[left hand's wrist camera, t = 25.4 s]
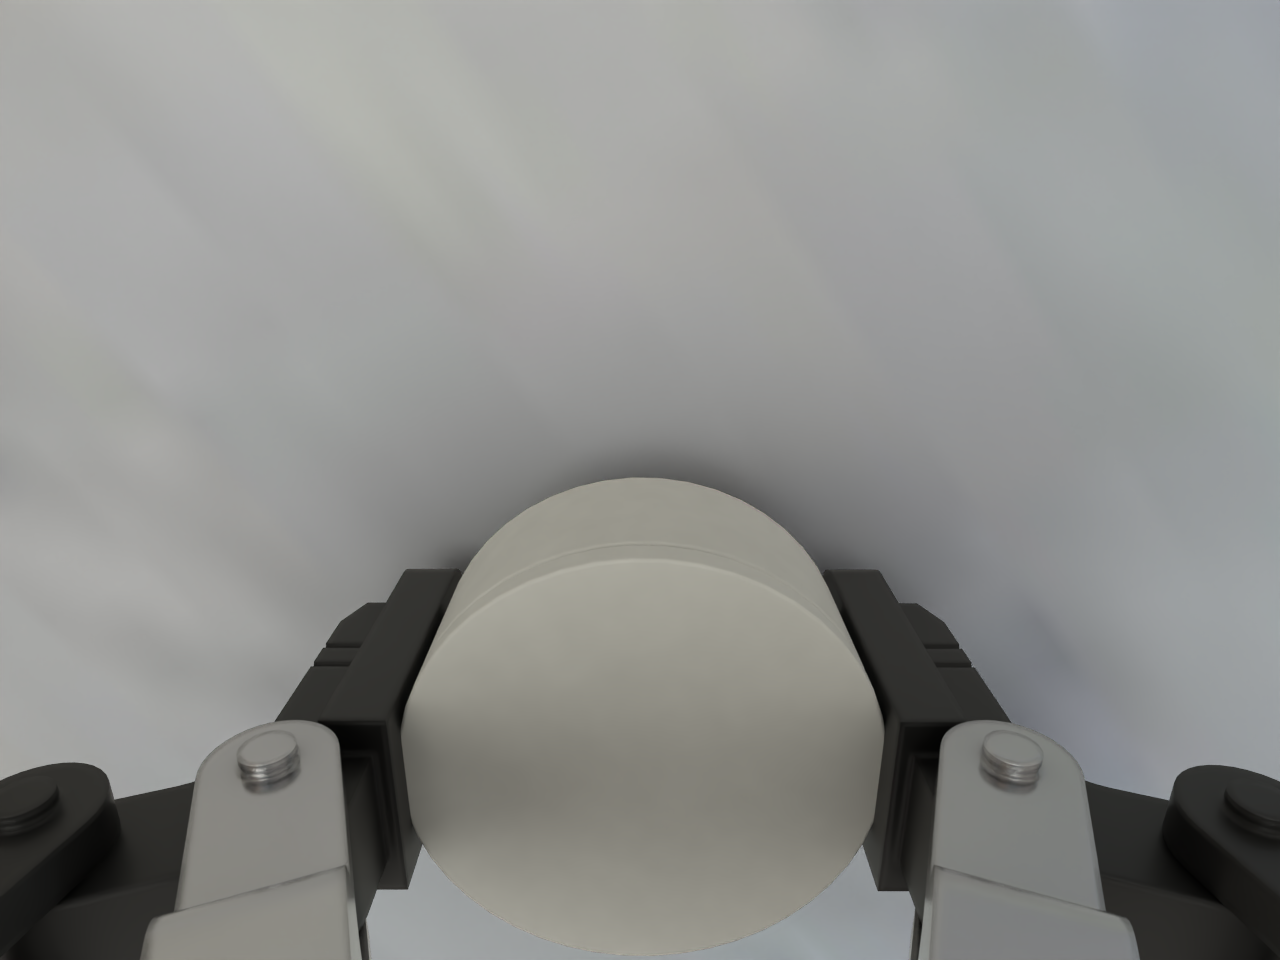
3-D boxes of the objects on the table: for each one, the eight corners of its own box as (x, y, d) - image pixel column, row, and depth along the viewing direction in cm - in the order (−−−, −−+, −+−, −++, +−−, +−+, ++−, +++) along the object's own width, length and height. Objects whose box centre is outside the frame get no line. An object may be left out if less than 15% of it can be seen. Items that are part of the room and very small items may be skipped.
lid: (510, 417, 10) (473, 487, 8) (907, 552, 11) (977, 653, 8) (402, 755, 12) (347, 889, 9) (748, 853, 12) (771, 1001, 10)
